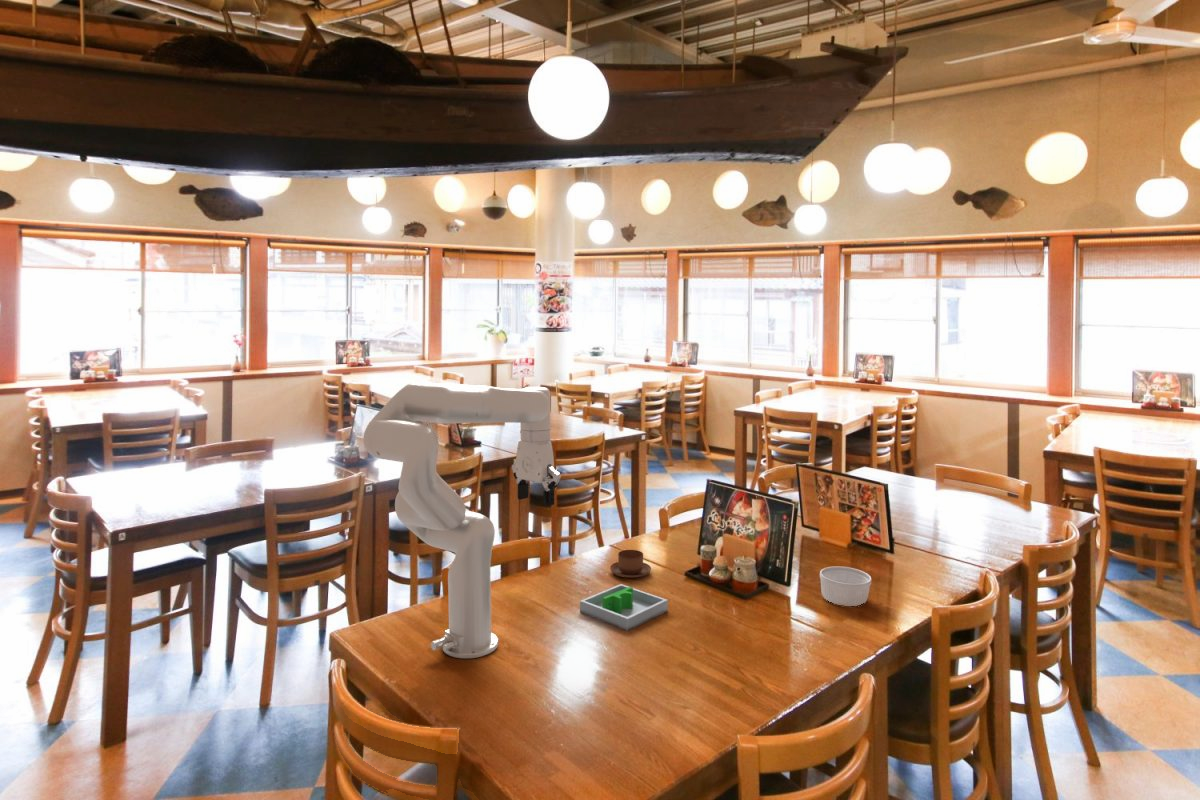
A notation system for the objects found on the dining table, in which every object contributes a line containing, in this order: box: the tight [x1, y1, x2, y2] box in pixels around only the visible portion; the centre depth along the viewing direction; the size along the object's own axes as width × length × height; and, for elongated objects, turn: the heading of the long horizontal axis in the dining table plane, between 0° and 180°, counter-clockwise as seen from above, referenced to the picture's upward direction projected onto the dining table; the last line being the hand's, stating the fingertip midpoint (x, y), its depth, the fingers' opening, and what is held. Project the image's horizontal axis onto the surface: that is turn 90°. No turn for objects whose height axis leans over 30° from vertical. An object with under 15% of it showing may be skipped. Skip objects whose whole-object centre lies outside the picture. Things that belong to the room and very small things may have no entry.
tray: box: [579, 583, 669, 632], centre depth 185 cm, size 16×16×3 cm
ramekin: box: [819, 565, 872, 606], centre depth 194 cm, size 13×13×7 cm
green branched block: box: [603, 586, 634, 614], centre depth 185 cm, size 10×4×4 cm, turn 136°
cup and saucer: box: [609, 549, 652, 579], centre depth 212 cm, size 12×12×6 cm
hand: (535, 501), depth 184 cm, fingers open, 9 cm apart
